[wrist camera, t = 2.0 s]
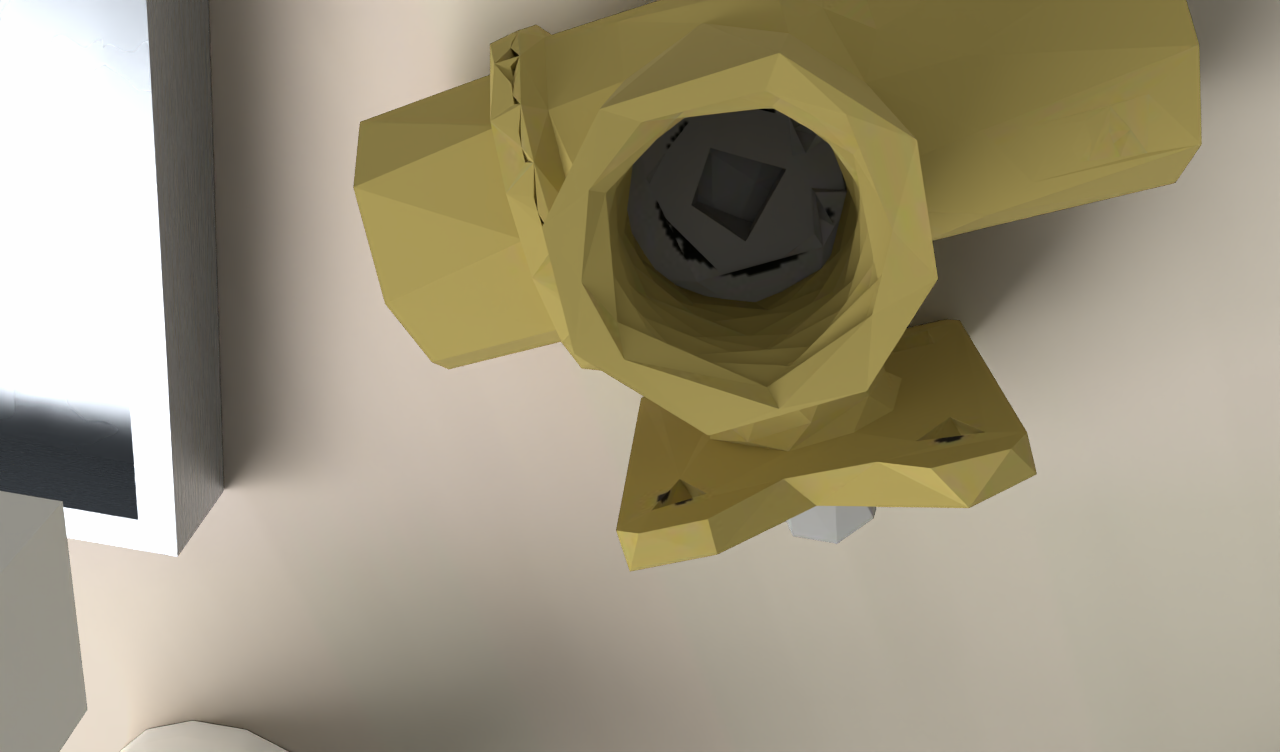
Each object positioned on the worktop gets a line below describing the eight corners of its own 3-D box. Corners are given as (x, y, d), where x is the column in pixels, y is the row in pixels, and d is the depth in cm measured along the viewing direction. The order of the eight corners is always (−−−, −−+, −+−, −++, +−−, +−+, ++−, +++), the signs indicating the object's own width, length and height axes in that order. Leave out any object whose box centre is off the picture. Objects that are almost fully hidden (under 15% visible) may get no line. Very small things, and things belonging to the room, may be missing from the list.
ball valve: (405, 60, 24) (559, 508, 27) (179, 146, 14) (461, 833, 17) (1060, -139, 21) (1144, 372, 25) (1328, -202, 12) (1410, 652, 15)
